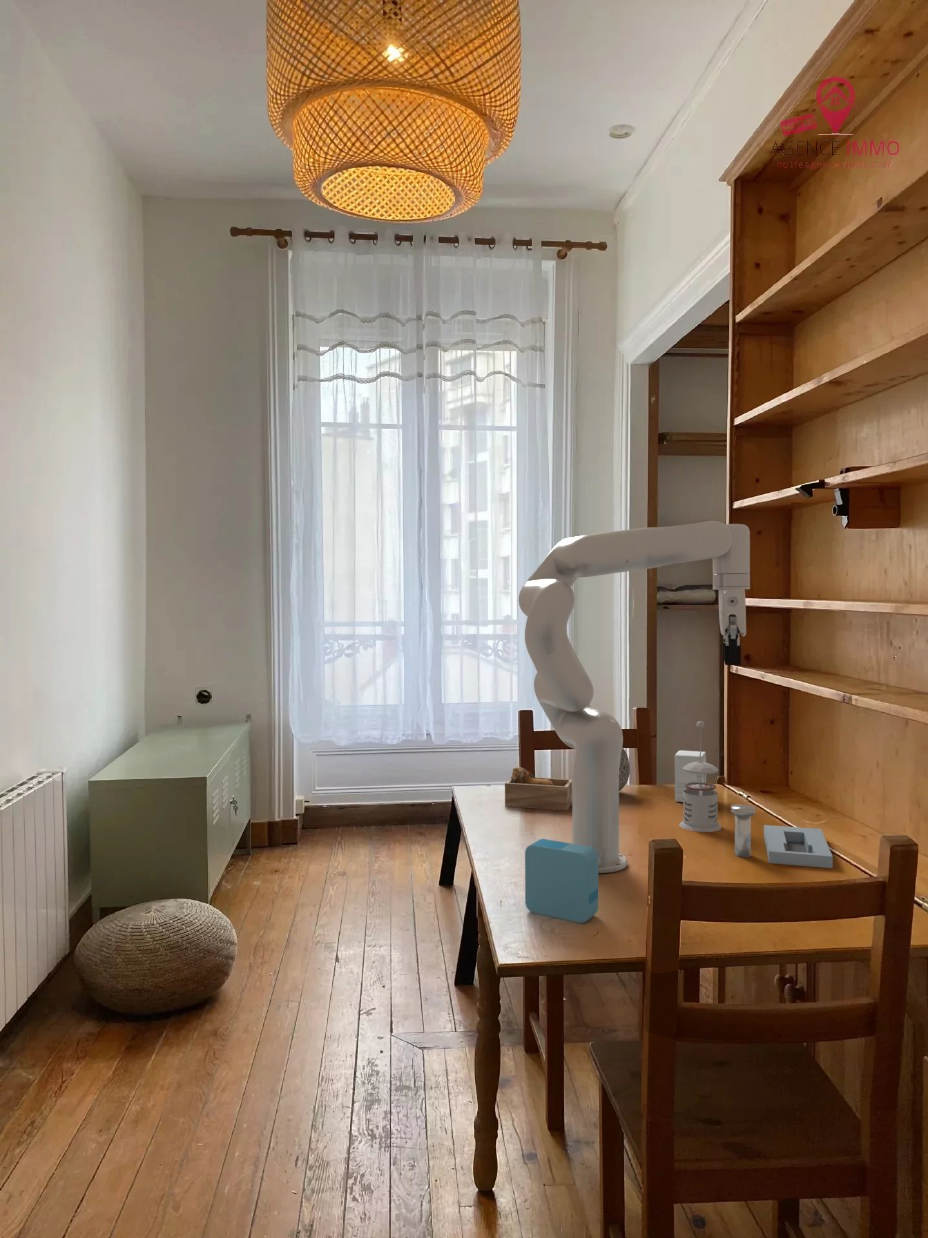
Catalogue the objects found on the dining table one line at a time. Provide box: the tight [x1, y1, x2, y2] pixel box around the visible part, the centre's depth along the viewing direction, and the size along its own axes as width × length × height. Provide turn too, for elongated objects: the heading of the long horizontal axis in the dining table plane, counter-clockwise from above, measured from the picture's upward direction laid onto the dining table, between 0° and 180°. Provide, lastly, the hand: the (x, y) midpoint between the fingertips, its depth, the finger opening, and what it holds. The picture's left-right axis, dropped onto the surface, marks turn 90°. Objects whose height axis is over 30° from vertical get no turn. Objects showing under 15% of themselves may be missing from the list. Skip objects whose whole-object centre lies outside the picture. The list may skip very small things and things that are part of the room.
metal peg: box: [730, 803, 756, 858], centre depth 175 cm, size 5×5×10 cm
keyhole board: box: [763, 824, 834, 869], centre depth 178 cm, size 20×12×2 cm, turn 163°
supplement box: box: [674, 750, 707, 803], centre depth 222 cm, size 7×7×13 cm
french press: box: [678, 720, 723, 833], centre depth 198 cm, size 10×12×25 cm
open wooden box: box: [504, 776, 572, 811], centre depth 219 cm, size 9×16×6 cm, turn 73°
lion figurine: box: [510, 766, 553, 786], centre depth 219 cm, size 15×5×9 cm, turn 62°
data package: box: [524, 838, 599, 924], centre depth 144 cm, size 12×4×12 cm, turn 58°
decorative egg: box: [619, 746, 631, 792], centre depth 229 cm, size 12×12×15 cm
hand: (731, 663), depth 177 cm, fingers open, 9 cm apart
